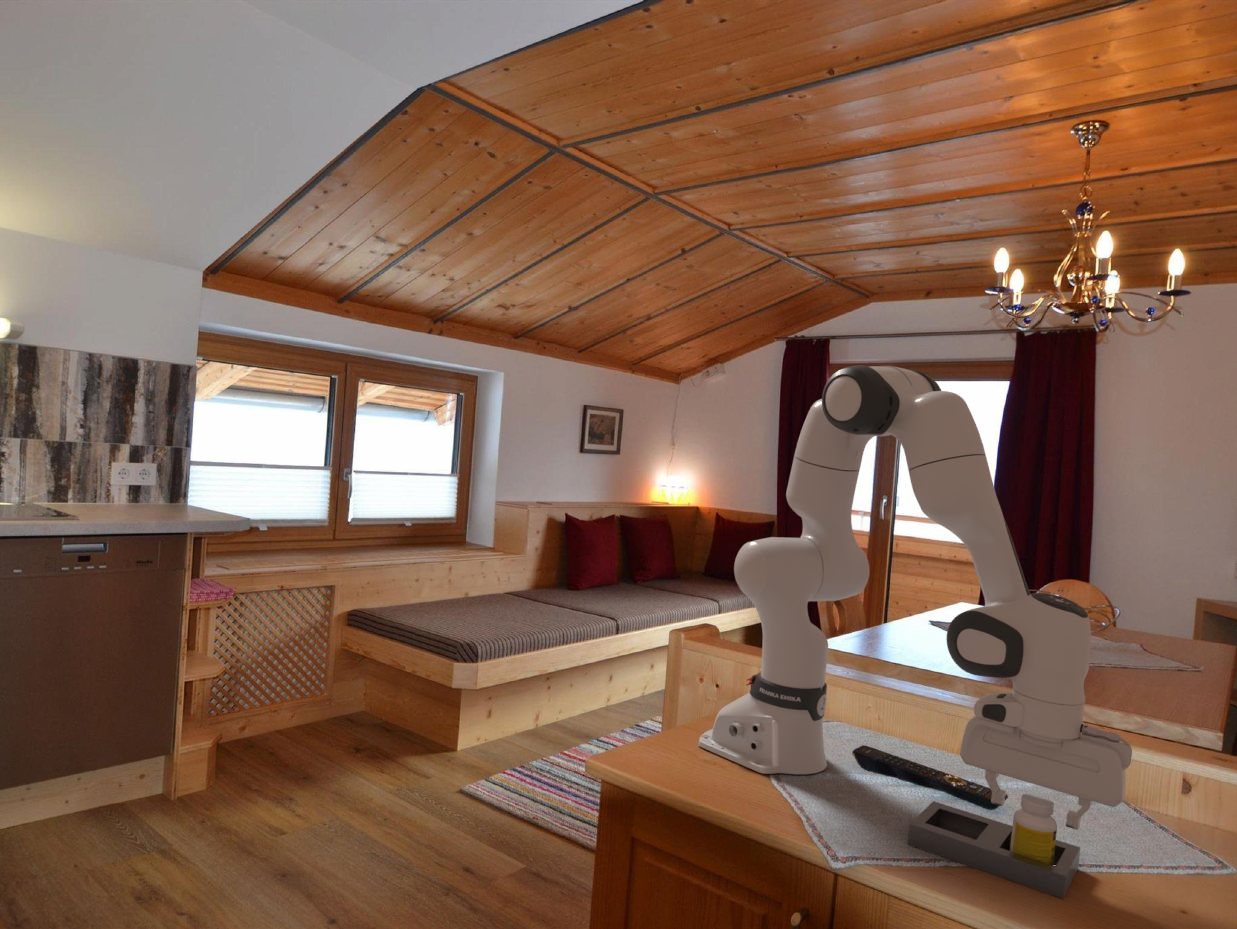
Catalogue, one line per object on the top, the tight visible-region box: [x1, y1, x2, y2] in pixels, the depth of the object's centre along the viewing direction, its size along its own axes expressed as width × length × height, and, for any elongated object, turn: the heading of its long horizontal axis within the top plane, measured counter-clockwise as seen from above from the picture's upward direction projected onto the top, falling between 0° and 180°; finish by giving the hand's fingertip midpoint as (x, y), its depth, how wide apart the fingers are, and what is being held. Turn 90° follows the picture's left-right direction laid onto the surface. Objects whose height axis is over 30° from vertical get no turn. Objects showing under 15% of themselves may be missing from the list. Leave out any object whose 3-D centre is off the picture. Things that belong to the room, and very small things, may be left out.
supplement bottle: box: [1010, 793, 1058, 865], centre depth 119 cm, size 5×5×10 cm
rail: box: [907, 800, 1081, 900], centre depth 122 cm, size 20×11×3 cm, turn 54°
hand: (1034, 815), depth 119 cm, fingers open, 8 cm apart
